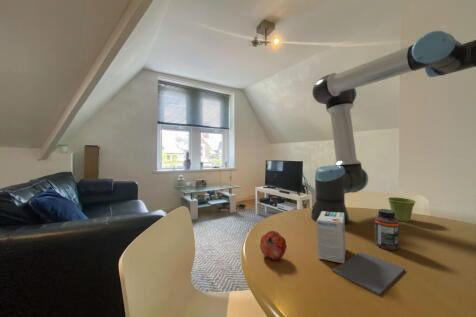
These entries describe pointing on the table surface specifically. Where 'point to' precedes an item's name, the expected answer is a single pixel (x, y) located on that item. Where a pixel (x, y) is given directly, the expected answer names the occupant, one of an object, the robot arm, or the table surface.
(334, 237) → the light bulb box
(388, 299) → the table surface
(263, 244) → the red round fruit
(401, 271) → the mat
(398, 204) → the plant pot
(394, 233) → the supplement bottle
